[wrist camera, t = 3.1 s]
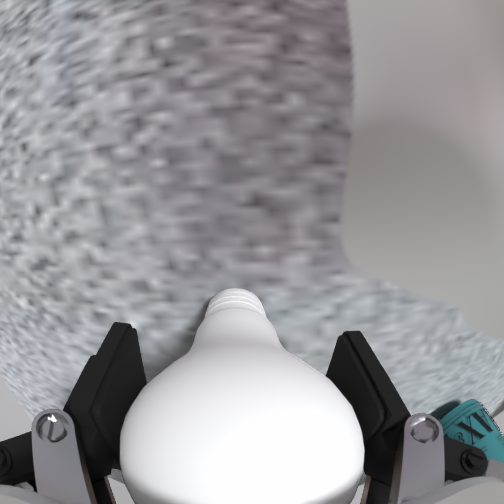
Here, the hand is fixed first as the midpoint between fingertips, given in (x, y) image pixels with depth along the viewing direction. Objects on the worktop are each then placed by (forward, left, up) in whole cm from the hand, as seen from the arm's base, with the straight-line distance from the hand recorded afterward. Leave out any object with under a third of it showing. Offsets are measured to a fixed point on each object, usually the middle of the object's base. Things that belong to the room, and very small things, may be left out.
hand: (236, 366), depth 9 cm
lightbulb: (0, 0, -4) cm, 4 cm away
